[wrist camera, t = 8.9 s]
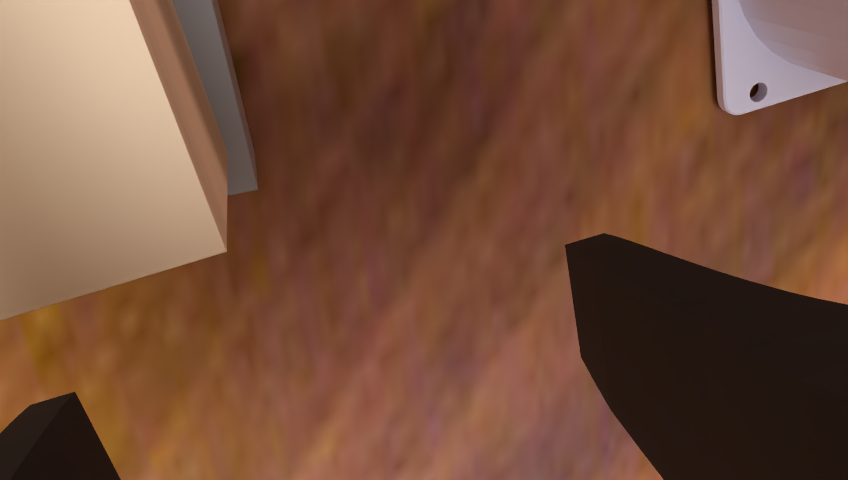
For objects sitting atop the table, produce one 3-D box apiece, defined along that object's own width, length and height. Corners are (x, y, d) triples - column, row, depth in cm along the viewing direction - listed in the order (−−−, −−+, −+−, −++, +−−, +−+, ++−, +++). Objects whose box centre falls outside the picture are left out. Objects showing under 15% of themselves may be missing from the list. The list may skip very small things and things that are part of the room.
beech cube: (135, -101, 14) (91, -97, 10) (227, 152, 16) (226, 251, 12) (-148, -30, 14) (-334, 10, 9) (-13, 222, 16) (-109, 353, 11)
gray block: (191, -113, 17) (183, -113, 14) (254, 148, 19) (257, 189, 17) (-104, -70, 16) (-172, -61, 13) (3, 197, 19) (-35, 249, 16)
